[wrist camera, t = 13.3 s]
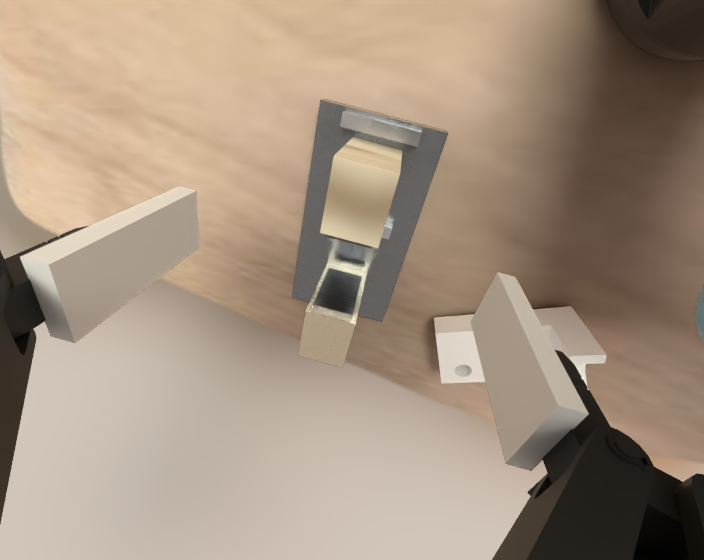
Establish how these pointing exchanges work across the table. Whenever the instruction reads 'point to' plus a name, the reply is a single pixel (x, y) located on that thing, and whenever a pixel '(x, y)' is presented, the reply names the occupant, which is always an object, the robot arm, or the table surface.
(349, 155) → the wooden block
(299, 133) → the table surface
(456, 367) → the bracket
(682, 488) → the robot arm
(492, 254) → the table surface
